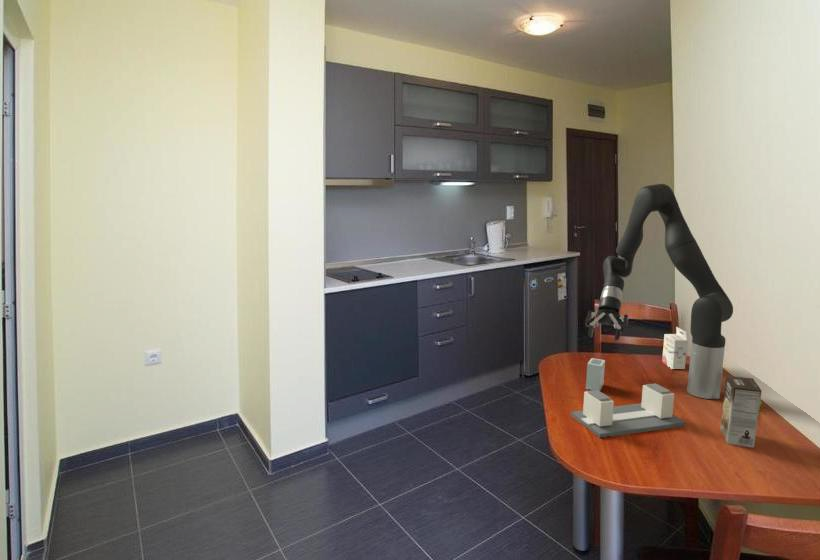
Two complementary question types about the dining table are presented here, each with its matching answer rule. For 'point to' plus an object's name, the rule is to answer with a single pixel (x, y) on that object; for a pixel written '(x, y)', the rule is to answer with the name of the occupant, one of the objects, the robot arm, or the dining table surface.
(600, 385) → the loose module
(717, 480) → the dining table surface
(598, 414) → the module
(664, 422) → the mounting board
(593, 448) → the dining table surface
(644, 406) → the module
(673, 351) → the ink cartridge box
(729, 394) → the coffee box
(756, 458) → the dining table surface
